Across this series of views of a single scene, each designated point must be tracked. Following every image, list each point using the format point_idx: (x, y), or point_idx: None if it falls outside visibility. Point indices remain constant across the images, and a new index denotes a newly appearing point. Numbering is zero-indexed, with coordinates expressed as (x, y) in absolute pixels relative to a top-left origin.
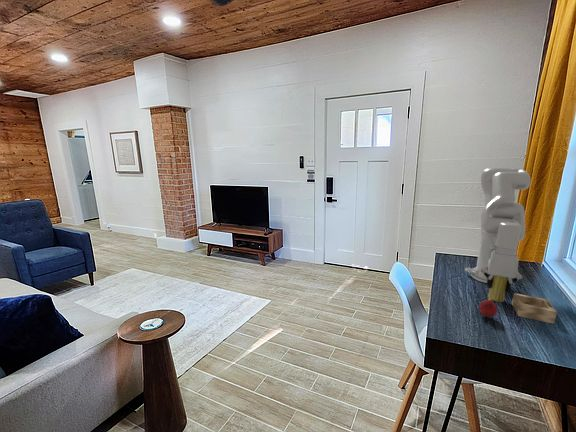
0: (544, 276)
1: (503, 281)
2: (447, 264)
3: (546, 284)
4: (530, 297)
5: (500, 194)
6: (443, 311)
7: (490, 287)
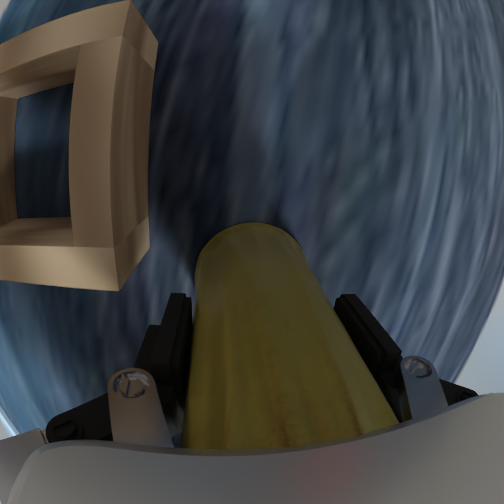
0: None
1: (253, 367)
2: None
3: None
4: (12, 250)
5: None
6: (499, 25)
7: (345, 300)
